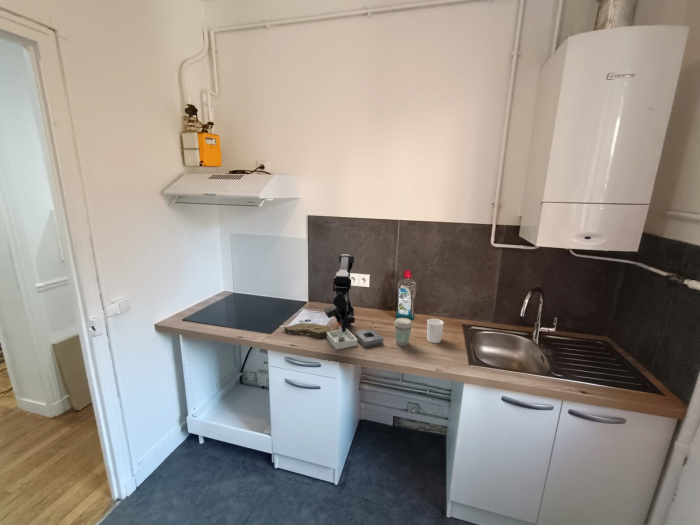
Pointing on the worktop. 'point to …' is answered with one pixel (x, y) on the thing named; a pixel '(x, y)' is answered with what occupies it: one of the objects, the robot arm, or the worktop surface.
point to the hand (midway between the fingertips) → (341, 330)
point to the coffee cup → (402, 331)
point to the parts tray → (349, 341)
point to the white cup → (434, 330)
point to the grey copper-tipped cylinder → (340, 333)
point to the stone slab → (309, 329)
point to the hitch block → (368, 338)
